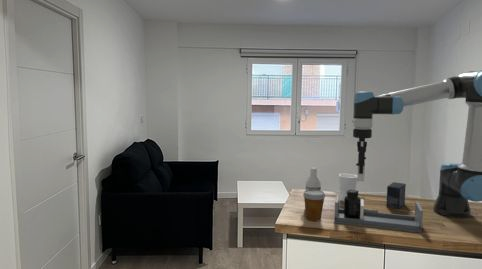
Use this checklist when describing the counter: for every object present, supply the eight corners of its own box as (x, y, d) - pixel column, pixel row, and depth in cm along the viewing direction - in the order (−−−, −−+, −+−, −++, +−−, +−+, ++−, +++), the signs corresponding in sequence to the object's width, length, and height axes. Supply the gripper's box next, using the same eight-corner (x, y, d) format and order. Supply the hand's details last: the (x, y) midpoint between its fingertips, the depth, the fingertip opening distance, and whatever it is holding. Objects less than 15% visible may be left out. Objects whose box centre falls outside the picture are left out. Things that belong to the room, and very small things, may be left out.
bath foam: (318, 212, 172) (319, 170, 170) (303, 210, 175) (304, 168, 172) (321, 208, 178) (322, 167, 176) (306, 206, 181) (308, 165, 179)
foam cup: (344, 196, 198) (345, 172, 197) (360, 200, 191) (361, 175, 190) (333, 199, 192) (334, 175, 191) (349, 204, 185) (350, 178, 184)
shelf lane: (416, 221, 162) (418, 201, 161) (421, 232, 149) (423, 211, 148) (336, 212, 172) (337, 194, 171) (334, 222, 159) (335, 202, 158)
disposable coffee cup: (328, 219, 163) (329, 192, 162) (315, 224, 157) (316, 196, 156) (311, 213, 170) (311, 188, 169) (297, 218, 164) (298, 192, 162)
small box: (391, 201, 190) (392, 181, 189) (405, 204, 186) (406, 183, 185) (385, 206, 182) (386, 185, 180) (399, 209, 178) (400, 188, 177)
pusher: (377, 215, 165) (378, 200, 164) (378, 223, 155) (379, 207, 155) (360, 213, 167) (360, 199, 166) (360, 221, 158) (360, 205, 157)
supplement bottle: (358, 215, 166) (359, 189, 165) (361, 220, 160) (362, 193, 158) (342, 214, 167) (343, 188, 166) (344, 219, 161) (345, 192, 159)
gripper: (353, 125, 171) (352, 170, 173) (352, 131, 147) (350, 183, 150) (371, 125, 169) (369, 171, 171) (372, 131, 145) (370, 185, 148)
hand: (360, 177), depth 160 cm, fingers open, 13 cm apart
